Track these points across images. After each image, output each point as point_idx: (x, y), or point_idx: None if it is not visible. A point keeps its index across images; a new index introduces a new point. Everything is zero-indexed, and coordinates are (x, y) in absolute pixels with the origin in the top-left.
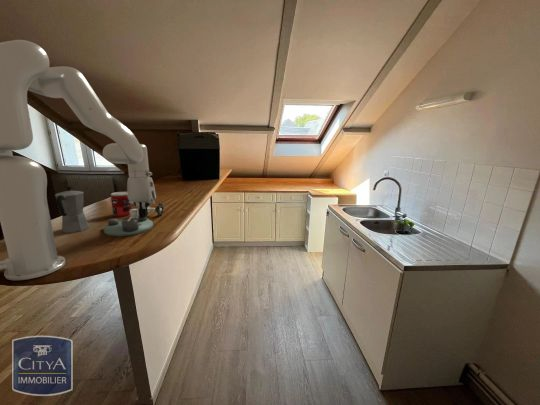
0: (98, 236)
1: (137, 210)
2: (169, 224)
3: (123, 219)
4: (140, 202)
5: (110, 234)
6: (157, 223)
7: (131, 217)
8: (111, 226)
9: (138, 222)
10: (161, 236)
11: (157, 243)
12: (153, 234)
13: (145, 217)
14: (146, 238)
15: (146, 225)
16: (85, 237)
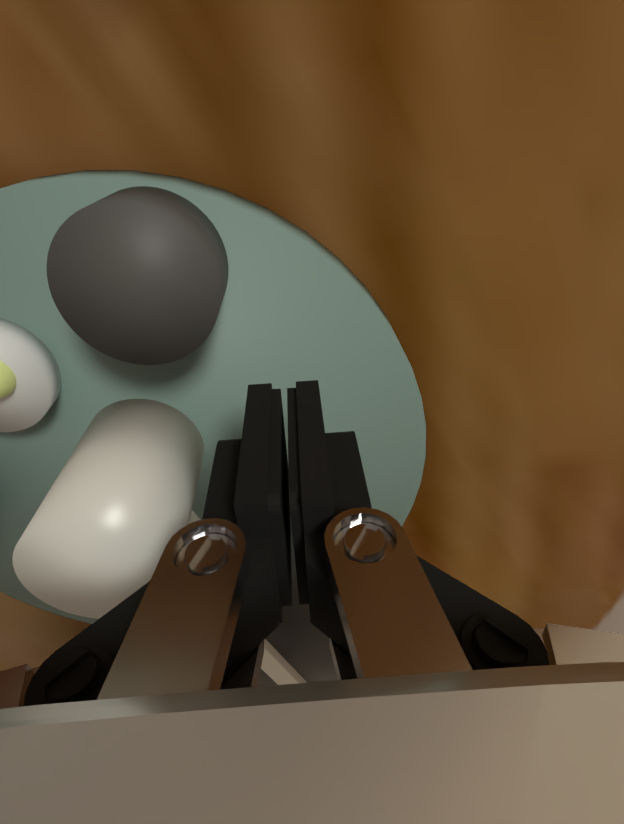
0: (85, 622)
1: (170, 538)
2: (602, 200)
3: None
4: (181, 680)
5: None
6: (394, 191)
7: (268, 652)
8: (11, 544)
9: (185, 373)
10: (589, 538)
11: (590, 622)
12: (504, 520)
13: (221, 289)
14: (480, 584)
15: (372, 448)
16: (15, 647)
